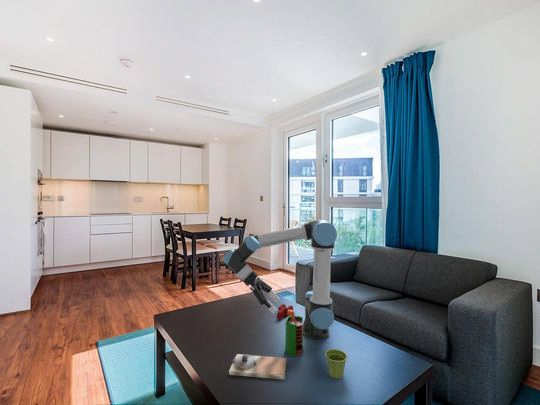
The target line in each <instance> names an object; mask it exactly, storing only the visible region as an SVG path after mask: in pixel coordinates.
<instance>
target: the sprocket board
mask: <svg viewBox="0 0 540 405" xmlns="http://www.w3.org/2000/svg"><path fill="white" fill-rule="evenodd" d="M286 367H287V358H286V357H277V356H276V357H275V356H264V355H252V354H250V355H249V353H245V354H240V353H237V354H236V355H235V357H234V358H233V359H232V363H231V366H230V368H229V370H228V376H229V375H230V376H240V377H241V376H242V377H243V376H244V377H252V378H253V377H254V378H263V379H274V380H285V377H286V376H285V375H286Z"/></svg>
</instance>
